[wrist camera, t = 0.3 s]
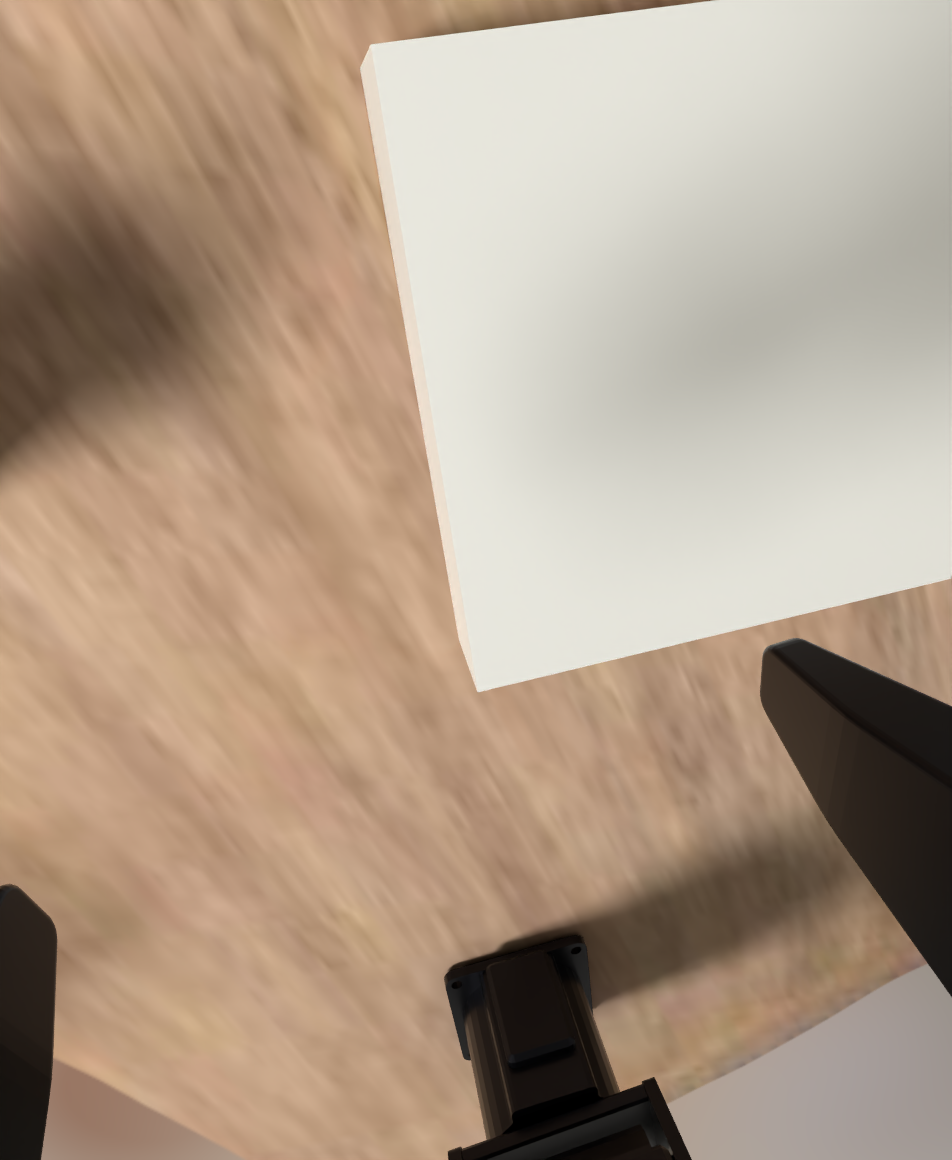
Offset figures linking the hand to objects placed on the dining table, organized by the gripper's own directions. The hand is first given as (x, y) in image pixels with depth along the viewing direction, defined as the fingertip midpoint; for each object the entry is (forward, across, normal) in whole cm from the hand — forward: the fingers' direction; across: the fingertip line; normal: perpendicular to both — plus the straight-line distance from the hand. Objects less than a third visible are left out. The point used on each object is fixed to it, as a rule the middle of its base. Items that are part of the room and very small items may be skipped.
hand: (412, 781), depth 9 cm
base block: (+14, -10, +2) cm, 17 cm away
